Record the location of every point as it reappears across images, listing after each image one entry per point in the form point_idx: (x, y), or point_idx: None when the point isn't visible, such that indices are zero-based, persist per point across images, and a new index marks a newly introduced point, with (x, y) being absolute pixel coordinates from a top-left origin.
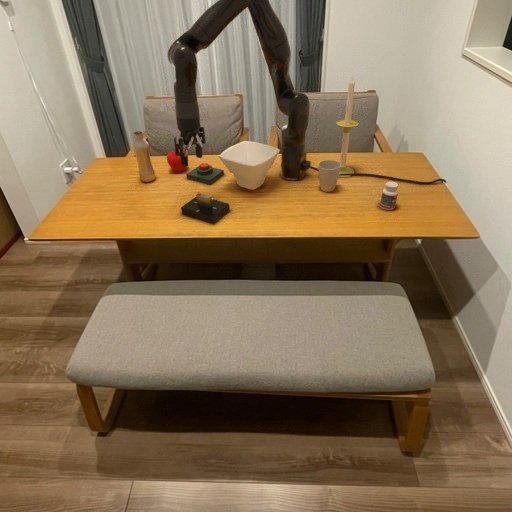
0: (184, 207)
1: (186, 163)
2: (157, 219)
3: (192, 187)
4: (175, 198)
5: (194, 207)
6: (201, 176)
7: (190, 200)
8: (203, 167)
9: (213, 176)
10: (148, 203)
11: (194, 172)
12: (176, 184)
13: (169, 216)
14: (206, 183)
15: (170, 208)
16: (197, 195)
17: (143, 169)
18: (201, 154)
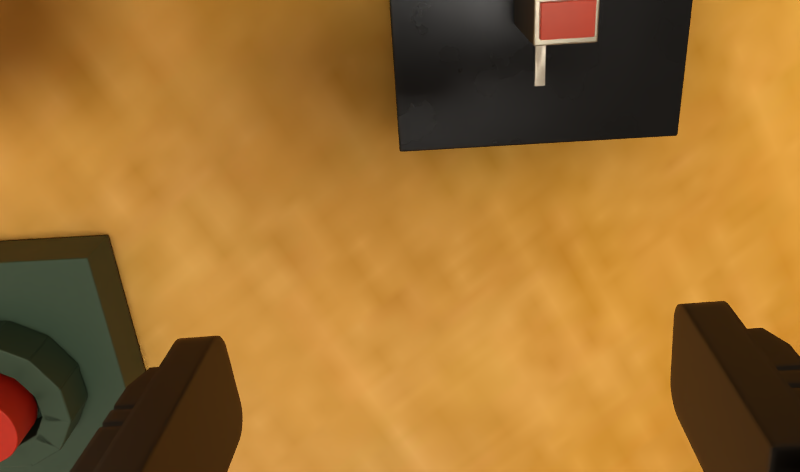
0: (664, 104)
1: (746, 341)
2: (790, 237)
3: (239, 331)
4: (455, 329)
5: (626, 12)
6: (93, 358)
7: (525, 143)
8: (8, 409)
9: (13, 272)
10: (611, 436)
11: (85, 445)
12: (281, 453)
13: (716, 187)
14: (117, 275)
15: (603, 262)
16: (598, 16)
17: None
18: (183, 369)
